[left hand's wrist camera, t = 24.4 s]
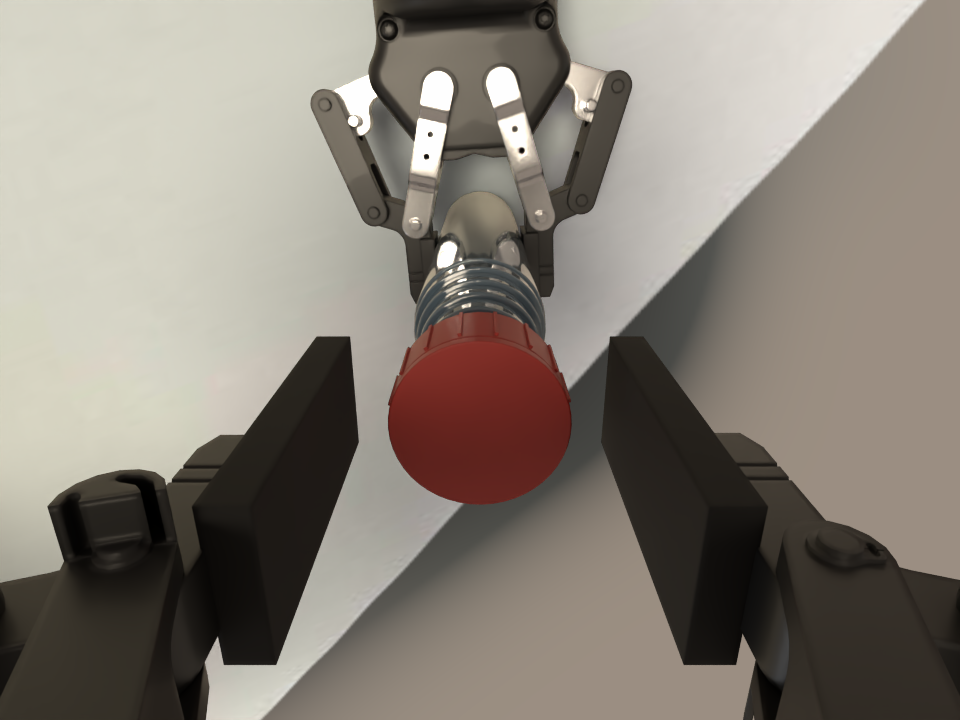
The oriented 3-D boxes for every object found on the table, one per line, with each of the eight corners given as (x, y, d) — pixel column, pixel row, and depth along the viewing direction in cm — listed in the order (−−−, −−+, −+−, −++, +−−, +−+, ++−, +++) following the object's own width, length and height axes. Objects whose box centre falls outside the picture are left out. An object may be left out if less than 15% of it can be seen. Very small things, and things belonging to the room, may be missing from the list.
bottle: (485, 276, 36) (494, 518, 15) (430, 234, 35) (351, 424, 14) (529, 221, 35) (611, 395, 13) (473, 176, 34) (462, 283, 12)
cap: (481, 486, 16) (482, 536, 14) (364, 390, 15) (347, 429, 13) (595, 385, 15) (612, 425, 13) (477, 275, 14) (476, 300, 12)
